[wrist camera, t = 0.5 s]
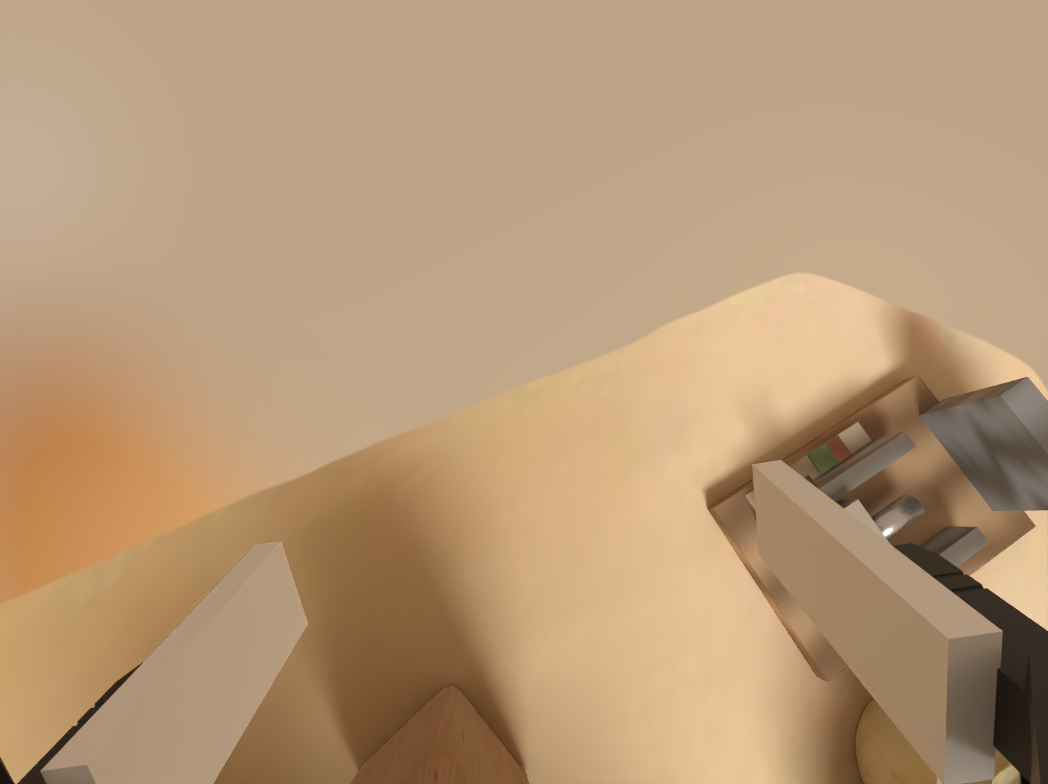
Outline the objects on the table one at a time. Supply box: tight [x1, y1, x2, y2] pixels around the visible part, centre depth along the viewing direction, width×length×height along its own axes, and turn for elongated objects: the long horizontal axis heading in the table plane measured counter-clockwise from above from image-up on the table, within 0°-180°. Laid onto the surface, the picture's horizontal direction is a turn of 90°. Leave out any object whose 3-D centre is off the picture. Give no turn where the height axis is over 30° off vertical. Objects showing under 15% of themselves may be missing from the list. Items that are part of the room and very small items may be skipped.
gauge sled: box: [804, 475, 925, 544], centre depth 43 cm, size 10×11×5 cm
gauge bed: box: [708, 376, 1048, 682], centre depth 42 cm, size 16×24×10 cm, turn 121°
